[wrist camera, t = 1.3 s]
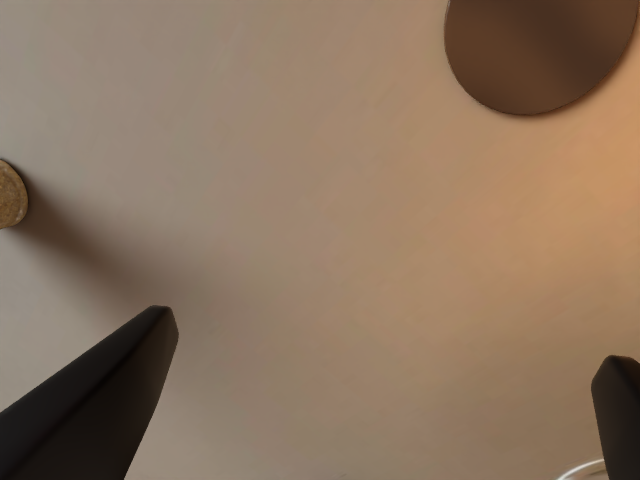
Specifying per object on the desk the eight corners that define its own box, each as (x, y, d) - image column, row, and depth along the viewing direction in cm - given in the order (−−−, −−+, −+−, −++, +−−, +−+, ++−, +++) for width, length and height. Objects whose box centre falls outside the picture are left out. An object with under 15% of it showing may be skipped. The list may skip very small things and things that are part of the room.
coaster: (566, 137, 21) (569, 139, 20) (414, 77, 21) (415, 78, 20) (676, -44, 18) (682, -46, 17) (497, -116, 17) (499, -120, 17)
